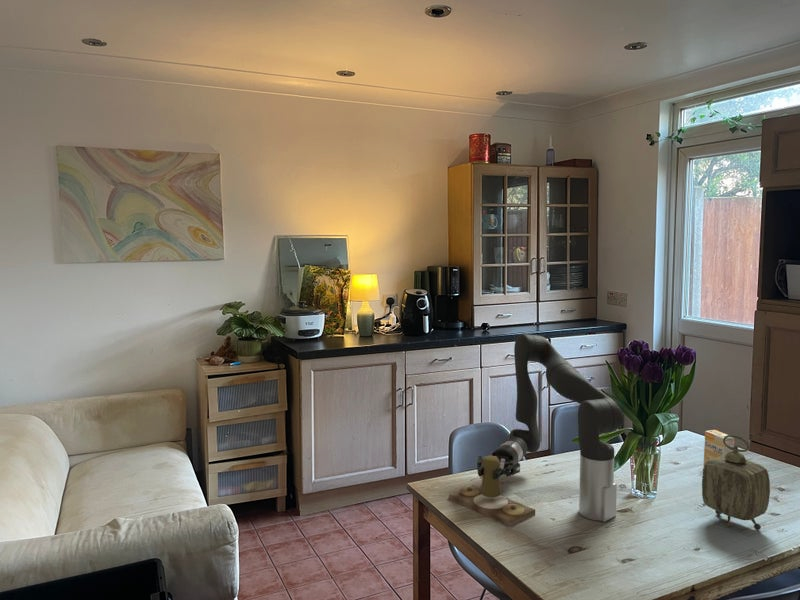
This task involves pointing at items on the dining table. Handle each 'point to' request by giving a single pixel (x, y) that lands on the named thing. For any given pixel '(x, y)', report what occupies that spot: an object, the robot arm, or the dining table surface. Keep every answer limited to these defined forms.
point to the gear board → (492, 505)
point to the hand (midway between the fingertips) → (487, 474)
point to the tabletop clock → (736, 485)
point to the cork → (490, 477)
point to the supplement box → (716, 444)
